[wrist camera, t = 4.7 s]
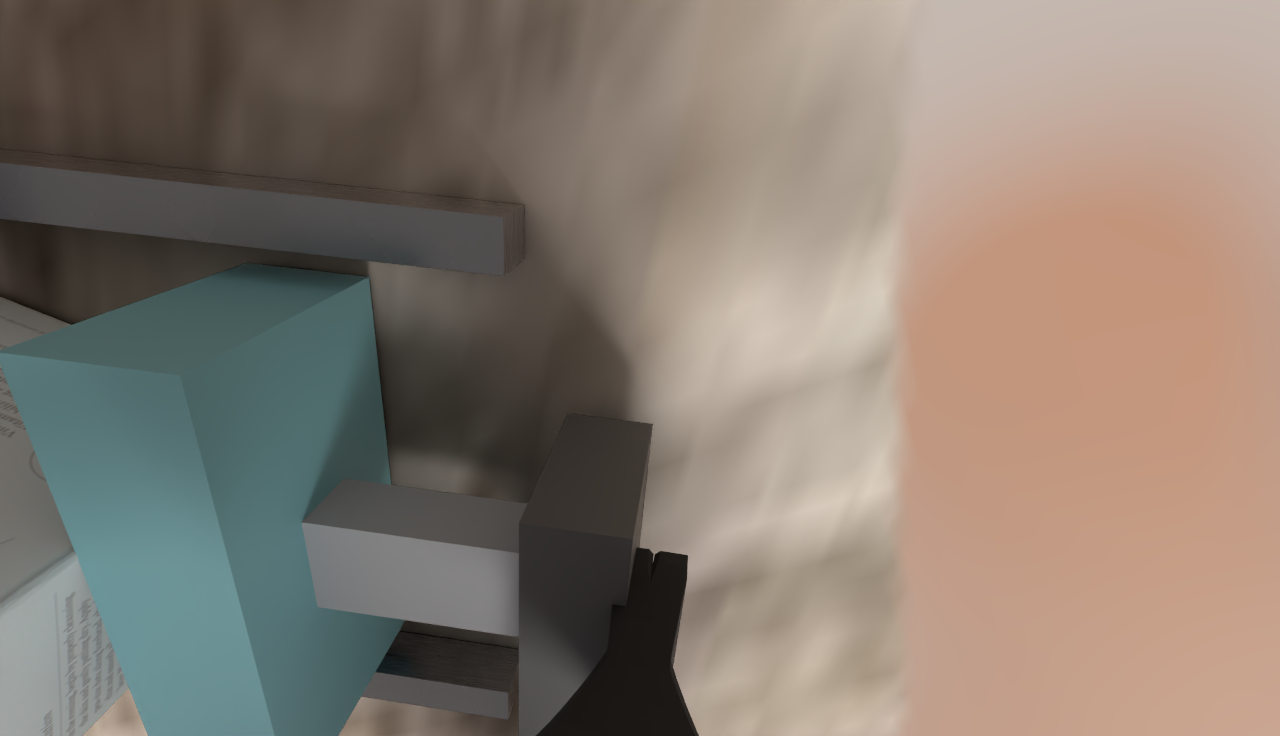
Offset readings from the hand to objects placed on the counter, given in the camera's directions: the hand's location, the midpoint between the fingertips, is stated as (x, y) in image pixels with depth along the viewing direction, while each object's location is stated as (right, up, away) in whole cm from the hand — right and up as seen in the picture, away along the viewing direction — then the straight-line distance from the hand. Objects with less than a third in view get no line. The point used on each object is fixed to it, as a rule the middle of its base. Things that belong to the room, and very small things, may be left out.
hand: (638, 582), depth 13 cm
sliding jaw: (-5, +2, +3) cm, 6 cm away
